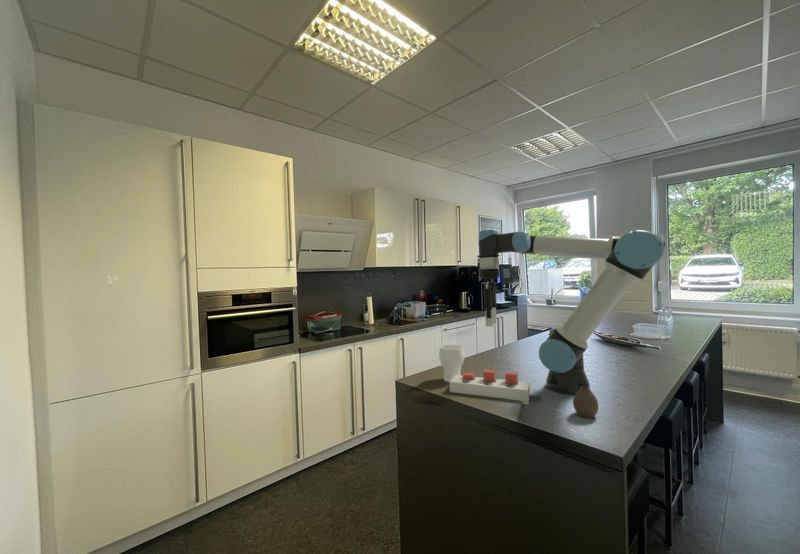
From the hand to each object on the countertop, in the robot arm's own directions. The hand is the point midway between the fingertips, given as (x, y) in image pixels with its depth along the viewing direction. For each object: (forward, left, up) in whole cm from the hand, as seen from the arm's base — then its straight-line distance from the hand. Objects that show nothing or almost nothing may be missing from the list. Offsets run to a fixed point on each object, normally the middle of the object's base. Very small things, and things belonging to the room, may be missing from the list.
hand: (491, 324), depth 130 cm
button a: (-8, +8, -20) cm, 23 cm away
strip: (-2, +10, -25) cm, 27 cm away
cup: (+17, 0, -25) cm, 31 cm away
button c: (+8, +8, -22) cm, 25 cm away
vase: (-31, +17, -25) cm, 44 cm away
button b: (0, +8, -20) cm, 22 cm away
